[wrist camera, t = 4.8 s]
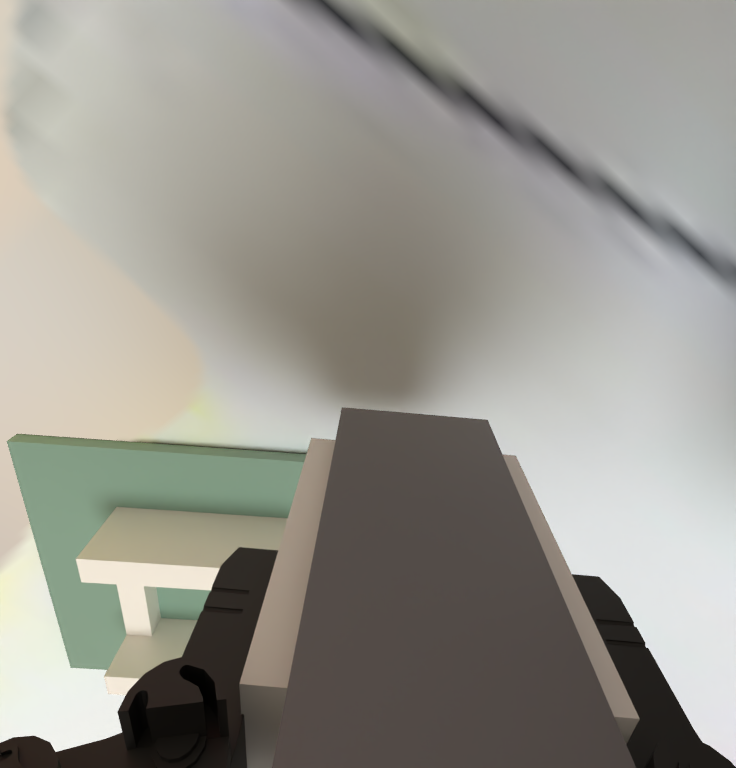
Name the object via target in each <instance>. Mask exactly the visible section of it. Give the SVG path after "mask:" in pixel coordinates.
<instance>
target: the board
mask: <svg viewBox="0 0 736 768" xmlns="http://www.w3.org/2000/svg"><path fill="white" fill-rule="evenodd" d="M7 443H8V447H9V450H10V454H11V458H12V461H13V465H14V468H15V472H16V475H17V479H18V482H19V486H20V489H21V493H22V496H23V500H24V503H25V507H26V511H27V514H28V518H29V521H30V525H31V528H32V532H33V535H34V539H35V542H36V546H37V550H38V553H39V557H40V560H41V564H42V567H43V571H44V574H45V578H46V581H47V585H48V588H49V592H50V596H51V599H52V603H53V606H54V610H55V613H56V617H57V620H58V624H59V627H60V631H61V634H62V638H63V642H64V645H65V649H66V652H67V656H68V659H69V663H70V666H71V668H87V669H104V670H107V672H106V674H105V676H104V678H105V682H106V687H107V691H108V694H117V695H126V694H127V692H128V691H129V690H130V688H131V687H132V686H133V685H134V684H135V683H136V682H137V681H138V680H139V679H140V678H141V677H142V676H143V675H144V674H145V673H146V672H148V671H150V670H151V669H153V668H154V667H156V666H158V665H159V664H161V663H163V662H165V661H169V660H172V659H176V658H180V657H182V655H183V653H184V650H185V648H186V646H187V643H188V641H189V639H190V636H191V634H192V632H193V629H194V627H195V625H196V622H197V620H198V618H199V615H200V613H201V611H203V608H204V604H205V602H206V599H207V597H208V595H209V592H211V589H212V585H213V583H214V581H215V578H216V576H217V574H218V571H219V569H220V567H221V565H222V564H223V563H224V562H225V561H226V560H227V559H228V558H229V557H230V556H231V555H232V554H233V553H234V552H235V551H236V550H237V549H238V548H239V547H244V548H256V549H268V550H279V547H280V543H281V540H282V536H283V533H284V530H285V526H286V523H287V519H288V516H289V512H290V509H291V506H292V502H293V499H294V495H295V492H296V489H297V485H298V482H299V478H300V475H301V471H302V468H303V465H304V461H305V458H306V454H297V453H283V452H268V451H254V450H240V449H226V448H212V447H198V446H183V445H169V444H155V443H141V442H127V441H112V440H98V439H84V438H70V437H55V436H40V435H26V434H16V435H15V436H14V437H12V438H11V439H9V440H8V441H7Z"/></svg>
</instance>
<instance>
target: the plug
mask: <svg viewBox="0 0 736 768" xmlns="http://www.w3.org/2000/svg"><path fill="white" fill-rule="evenodd" d="M272 768H636V766H635V764H634V762H633V759H632V757H631V755H630V752H629V750H628V748H627V745H626V743H625V741H624V738H623V736H622V734H621V731H620V729H619V727H618V724H617V722H616V720H615V717H614V715H613V713H612V710H611V708H610V706H609V703H608V701H607V699H606V696H605V694H604V691H603V689H602V687H601V684H600V682H599V680H598V677H597V675H596V673H595V670H594V668H593V666H592V663H591V661H590V659H589V656H588V654H587V652H586V649H585V647H584V645H583V642H582V640H581V638H580V635H579V633H578V631H577V628H576V626H575V624H574V621H573V619H572V617H571V614H570V612H569V610H568V607H567V605H566V603H565V600H564V598H563V596H562V593H561V591H560V588H559V586H558V584H557V581H556V579H555V577H554V574H553V572H552V570H551V567H550V565H549V563H548V560H547V558H546V556H545V553H544V551H543V549H542V546H541V544H540V542H539V539H538V537H537V535H536V532H535V530H534V528H533V525H532V523H531V521H530V518H529V516H528V514H527V511H526V509H525V507H524V504H523V502H522V500H521V497H520V495H519V493H518V490H517V488H516V485H515V483H514V481H513V478H512V476H511V474H510V471H509V469H508V467H507V464H506V462H505V460H504V457H503V455H502V453H501V450H500V448H499V446H498V443H497V441H496V439H495V436H494V434H493V432H492V429H491V427H490V425H489V422H488V420H482V419H470V418H459V417H447V416H435V415H424V414H412V413H401V412H389V411H377V410H366V409H354V408H342V410H341V415H340V420H339V426H338V431H337V436H336V441H335V446H334V451H333V456H332V461H331V467H330V472H329V477H328V482H327V487H326V492H325V497H324V502H323V508H322V513H321V518H320V523H319V528H318V533H317V538H316V544H315V549H314V554H313V559H312V564H311V569H310V574H309V579H308V585H307V590H306V595H305V600H304V605H303V610H302V615H301V620H300V626H299V631H298V636H297V641H296V646H295V651H294V656H293V661H292V667H291V672H290V677H289V682H288V687H287V692H286V697H285V702H284V708H283V713H282V718H281V723H280V728H279V733H278V738H277V743H276V749H275V754H274V759H273V764H272Z"/></svg>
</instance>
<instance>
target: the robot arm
mask: <svg viewBox="0 0 736 768" xmlns="http://www.w3.org/2000/svg"><path fill="white" fill-rule="evenodd" d="M335 441H336V440H327V439H316V438H311V441H310V444H309V447H308V451H307V454H306V458H305V461H304V465H303V468H302V471H301V475H300V478H299V482H298V485H297V489H296V492H295V495H294V499H293V502H292V506H291V509H290V512H289V516H288V519H287V523H286V526H285V530H284V533H283V536H282V540H281V543H280V547H279V550H268V549H256V548H244V547H239V548H238V549H237V550H236V551H235V552H234V553H233V554H232V555H231V556H230V557H229V558H228V559H227V560H226V561H225V562H224V563H223V564H222V565H221V567H220V569H219V571H218V574H217V576H216V578H215V581H214V583H213V585H212V589H211V592H209V595H208V597H207V599H206V602H205V604H204V608H203V611H201V613H200V615H199V618H198V620H197V622H196V625H195V627H194V629H193V632H192V634H191V636H190V639H189V641H188V643H187V646H186V648H185V650H184V653H183V655H182V657H180V658H176V659H172V660H169V661H165V662H163V663H161V664H159V665H158V666H156V667H154V668H153V669H151V670H150V671H148V672H146V673H145V674H144V675H143V676H142V677H141V678H140V679H139V680H138V681H137V682H136V683H135V684H134V685H133V686H132V687H131V688H130V690H129V691H128V692H127V694H126V696H125V698H124V700H123V702H122V704H121V706H120V708H119V710H118V715H119V719H120V724H121V728H122V733H120V734H117V735H115V736H112V737H109V738H107V739H103V740H100V741H96V742H92V743H88V744H85V745H81V746H77V747H73V748H70V749H66V750H62V751H58V752H55V751H54V749H53V747H52V745H51V744H50V742H48V741H45V740H43V739H41V738H38V737H36V736H27V737H14V738H11V739H9V740H6V741H4V742H2V743H0V768H272V764H273V759H274V754H275V749H276V743H277V738H278V733H279V728H280V723H281V718H282V713H283V708H284V702H285V697H286V692H287V687H288V682H289V677H290V672H291V667H292V661H293V656H294V651H295V646H296V641H297V636H298V631H299V626H300V620H301V615H302V610H303V605H304V600H305V595H306V590H307V585H308V579H309V574H310V569H311V564H312V559H313V554H314V549H315V544H316V538H317V533H318V528H319V523H320V518H321V513H322V508H323V502H324V497H325V492H326V487H327V482H328V477H329V472H330V467H331V461H332V456H333V451H334V446H335ZM503 457H504V460H505V462H506V464H507V467H508V469H509V471H510V474H511V476H512V478H513V481H514V483H515V485H516V488H517V490H518V493H519V495H520V497H521V500H522V502H523V504H524V507H525V509H526V511H527V514H528V516H529V518H530V521H531V523H532V525H533V528H534V530H535V532H536V535H537V537H538V539H539V542H540V544H541V546H542V549H543V551H544V553H545V556H546V558H547V560H548V563H549V565H550V567H551V570H552V572H553V574H554V577H555V579H556V581H557V584H558V586H559V588H560V591H561V593H562V596H563V598H564V600H565V603H566V605H567V607H568V610H569V612H570V614H571V617H572V619H573V621H574V624H575V626H576V628H577V631H578V633H579V635H580V638H581V640H582V642H583V645H584V647H585V649H586V652H587V654H588V656H589V659H590V661H591V663H592V666H593V668H594V670H595V673H596V675H597V677H598V680H599V682H600V684H601V687H602V689H603V691H604V694H605V696H606V699H607V701H608V703H609V706H610V708H611V710H612V713H613V715H614V717H615V720H616V722H617V724H618V727H619V729H620V731H621V734H622V736H623V738H624V741H625V743H626V745H627V748H628V750H629V752H630V755H631V757H632V759H633V762H634V764H635V766H636V768H736V767H735V766H734V765H733V764H732V763H731V762H730V761H729V760H728V759H726V758H725V757H724V756H722V755H721V754H720V753H718V752H717V751H716V750H714V749H713V748H712V747H710V746H709V745H707V744H704V743H702V741H701V740H700V738H699V737H698V735H697V734H696V732H695V731H694V729H693V727H692V725H691V724H690V722H689V720H688V718H687V717H686V715H685V713H684V711H683V709H682V708H681V706H680V704H679V702H678V700H677V699H676V697H675V695H674V693H673V692H672V690H671V688H670V686H669V684H668V683H667V681H666V679H665V677H664V675H663V674H662V672H661V670H660V668H659V667H658V665H657V663H656V661H655V659H654V658H653V656H652V654H651V652H650V651H649V649H648V648H646V647H645V642H644V640H643V638H642V636H641V634H640V633H639V631H638V629H637V627H634V624H633V623H634V622H633V620H632V618H631V617H630V615H629V613H628V611H627V609H626V608H625V606H624V604H623V602H622V601H621V599H620V597H619V596H618V595H617V594H616V593H615V592H614V591H613V590H612V589H611V588H610V587H609V586H608V585H607V584H606V583H605V582H604V581H603V580H602V579H601V578H600V577H596V576H584V575H573V574H571V572H570V570H569V568H568V566H567V563H566V561H565V559H564V557H563V555H562V553H561V551H560V549H559V546H558V544H557V542H556V540H555V538H554V536H553V534H552V532H551V529H550V527H549V525H548V523H547V521H546V519H545V517H544V515H543V513H542V510H541V508H540V506H539V504H538V502H537V500H536V498H535V496H534V493H533V491H532V489H531V487H530V485H529V483H528V481H527V479H526V476H525V474H524V472H523V470H522V468H521V466H520V464H519V462H518V459H517V457H516V456H513V455H503Z"/></svg>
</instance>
